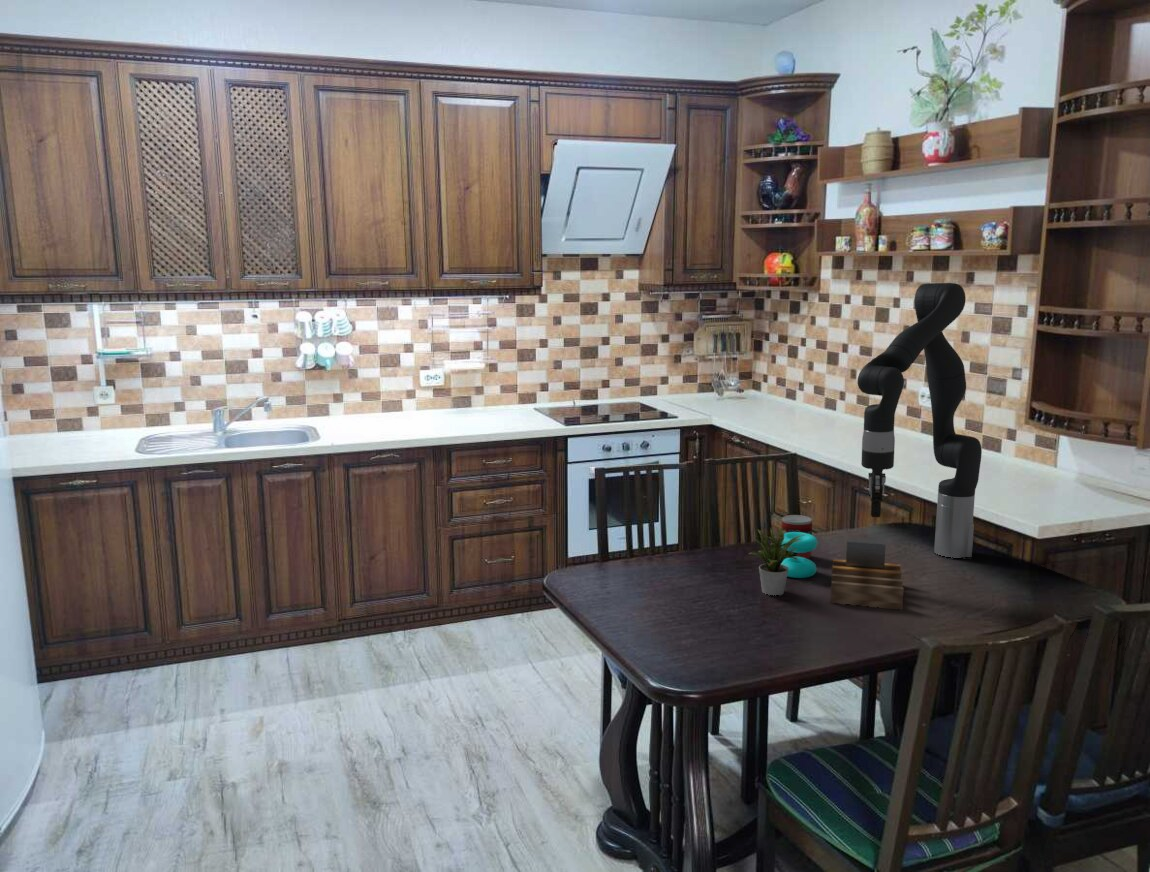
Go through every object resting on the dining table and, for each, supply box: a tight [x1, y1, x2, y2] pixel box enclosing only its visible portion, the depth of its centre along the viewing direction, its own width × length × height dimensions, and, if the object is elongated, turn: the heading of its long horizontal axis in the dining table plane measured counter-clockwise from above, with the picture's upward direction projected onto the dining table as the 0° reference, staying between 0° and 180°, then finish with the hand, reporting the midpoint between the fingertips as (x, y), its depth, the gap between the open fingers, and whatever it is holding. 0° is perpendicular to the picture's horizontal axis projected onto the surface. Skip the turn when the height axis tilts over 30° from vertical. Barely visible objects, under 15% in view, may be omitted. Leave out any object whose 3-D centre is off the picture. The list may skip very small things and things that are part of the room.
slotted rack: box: [830, 558, 905, 611], centre depth 220 cm, size 16×17×5 cm
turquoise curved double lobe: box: [780, 532, 819, 579], centre depth 235 cm, size 10×10×10 cm
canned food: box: [780, 514, 813, 560], centre depth 247 cm, size 8×8×11 cm
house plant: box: [748, 527, 804, 597], centre depth 220 cm, size 14×14×16 cm
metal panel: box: [845, 538, 887, 570], centre depth 225 cm, size 9×2×10 cm, turn 73°
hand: (875, 516), depth 225 cm, fingers closed
